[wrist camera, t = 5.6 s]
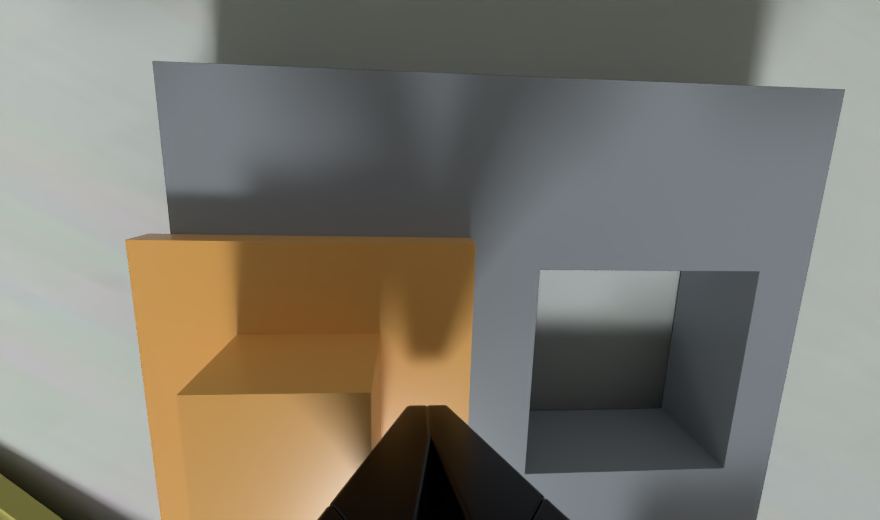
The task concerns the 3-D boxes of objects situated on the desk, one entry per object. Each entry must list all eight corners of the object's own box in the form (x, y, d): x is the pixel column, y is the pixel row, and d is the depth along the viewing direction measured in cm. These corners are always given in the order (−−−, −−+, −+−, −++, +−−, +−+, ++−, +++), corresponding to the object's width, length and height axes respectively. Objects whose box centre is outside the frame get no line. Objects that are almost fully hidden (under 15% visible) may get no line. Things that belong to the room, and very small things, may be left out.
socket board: (745, 106, 13) (845, 89, 10) (679, 514, 16) (740, 594, 13) (216, 86, 12) (152, 60, 9) (250, 530, 15) (211, 621, 12)
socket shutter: (470, 238, 10) (500, 272, 7) (459, 502, 11) (480, 633, 8) (148, 233, 9) (15, 269, 6) (180, 512, 11) (86, 656, 8)
